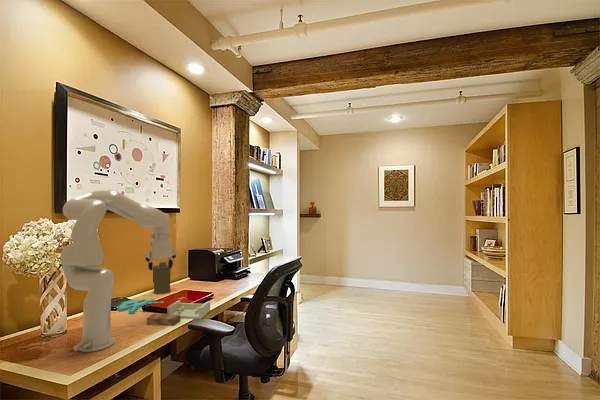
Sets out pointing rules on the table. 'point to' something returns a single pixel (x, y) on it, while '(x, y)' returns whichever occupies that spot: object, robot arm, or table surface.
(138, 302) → the alien figure
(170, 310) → the peg frame
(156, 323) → the brown wooden block
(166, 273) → the canister
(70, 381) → the table surface
